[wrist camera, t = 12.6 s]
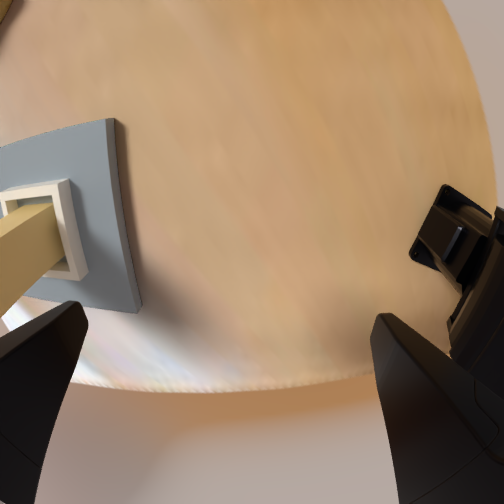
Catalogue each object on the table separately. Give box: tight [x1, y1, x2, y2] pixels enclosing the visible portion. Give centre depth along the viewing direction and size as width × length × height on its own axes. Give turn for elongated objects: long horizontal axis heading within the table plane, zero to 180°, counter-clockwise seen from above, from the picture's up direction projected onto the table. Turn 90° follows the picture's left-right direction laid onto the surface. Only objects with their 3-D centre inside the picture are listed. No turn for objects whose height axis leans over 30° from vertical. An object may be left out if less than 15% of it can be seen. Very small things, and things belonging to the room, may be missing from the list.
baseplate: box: [0, 118, 142, 314], centre depth 20 cm, size 16×16×3 cm
